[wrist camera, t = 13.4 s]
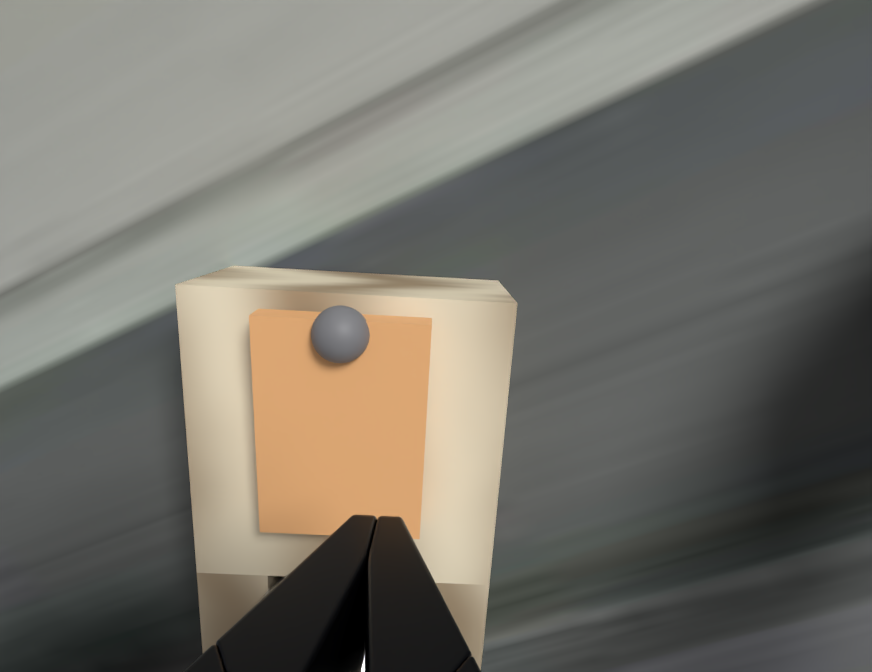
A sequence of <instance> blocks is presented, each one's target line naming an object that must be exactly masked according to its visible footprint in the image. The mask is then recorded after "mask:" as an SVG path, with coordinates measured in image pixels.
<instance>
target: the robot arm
mask: <svg viewBox="0 0 872 672" xmlns="http://www.w3.org/2000/svg"><path fill="white" fill-rule="evenodd" d="M364 655H365V670H364V672H481V670H480V668H479V666H478V665H477V663H476V661H475V659H474V657H472V654H471V651H470V649H469V647H468V646H467V644H466V642H465V640H464V638H463V636H462V634H461V632H460V630H459V628H458V626H457V624H456V622H455V620H454V618H453V616H452V614H451V612H450V610H449V608H448V606H447V605H446V603H445V601H444V599H443V597H442V595H441V593H440V591H439V589H438V587H437V585H436V583H435V581H434V579H433V577H432V575H431V573H430V571H429V569H428V567H427V565H426V563H425V562H424V560H423V558H422V556H421V554H420V552H419V550H418V548H417V546H416V544H415V542H414V540H413V538H412V536H411V534H410V532H409V530H408V528H407V526H406V524H405V522H404V521H403V519H402V518H401V517H399V516H380V517H378V519H377V518H376V517H375V516H374V515H356V514H355V515H352V516H351V517H350V518H349V519H348V520H347V521H345V522H344V523H343V524H342V525H341V526H340V527H339V528H338V529H337V530H336V531H335V532H334V533H333V534H331V535H330V536H329V537H328V538H327V539H326V540H325V541H324V542H323V543H322V544H321V545H320V546H319V547H317V548H316V549H315V550H314V551H313V552H312V553H311V554H310V555H309V556H308V557H307V558H306V559H305V560H303V561H302V562H301V563H300V564H299V565H298V566H297V567H296V568H295V569H294V570H293V571H292V572H291V573H289V574H288V575H287V576H286V577H285V578H284V579H283V580H282V581H281V582H280V583H279V584H278V585H277V586H275V587H274V588H273V589H272V590H271V591H270V592H269V593H268V594H267V595H266V596H265V597H264V598H263V599H261V600H260V601H259V602H258V603H257V604H256V605H255V606H254V607H253V608H252V609H251V610H250V611H249V612H247V613H246V614H245V615H244V616H243V617H242V618H241V619H240V620H239V621H238V622H237V623H236V624H235V625H233V626H232V627H231V628H230V629H229V630H228V631H227V632H226V633H225V634H224V635H223V636H222V637H221V638H219V639H218V640H217V642H216V645H212V646H211V647H209V648H208V649H207V650H206V651H205V652H204V653H203V654H202V655H201V656H200V657H199V658H198V659H196V660H195V661H194V662H193V663H192V664H191V665H190V666H189V667H188V668H187V669H185V670H184V671H183V672H361V670H362V666H363V661H364Z"/></svg>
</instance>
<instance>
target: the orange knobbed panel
mask: <svg viewBox="0 0 872 672" xmlns="http://www.w3.org/2000/svg"><path fill="white" fill-rule="evenodd" d="M249 329H250V349H251V369H252V389H253V409H254V429H255V449H256V468H257V488H258V508H259V528H260V532H266V533H288V534H311V535H331V534H333V533H334V532H335V531H336V530H337V529H338V528H339V527H340V526H341V525H342V524H343V523H344V522H345V521H347V520H348V519H349V518H350V517H351V516H352V515H355V514H356V515H374V516H375V517H376V518H377V519H378V517H380V516H399V517H401V518H402V519H403V521H404V522H405V524H406V526H407V528H408V530H409V532H410V534H411V536H412V538H413V539H420V523H421V505H422V488H423V471H424V453H425V436H426V418H427V401H428V384H429V366H430V349H431V331H432V318H424V317H406V316H387V315H369V314H361V313H360V312H358V311H357V310H355V309H354V308H351V307H348V306H343V305H338V306H332V307H329V308H327V309H325V310H324V311H322V312H313V311H295V310H276V309H257V310H256V311H254V312H253V313H252V314H250V315H249Z"/></svg>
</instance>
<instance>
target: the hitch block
mask: <svg viewBox="0 0 872 672" xmlns="http://www.w3.org/2000/svg"><path fill="white" fill-rule="evenodd" d="M175 288H176V302H177V315H178V328H179V342H180V355H181V369H182V382H183V396H184V409H185V422H186V436H187V449H188V463H189V476H190V489H191V503H192V516H193V530H194V543H195V557H196V570H197V583H198V597H199V610H200V624H201V637H202V651H203V653H204V652H205V651H206V650H207V649H208V648H209V647H211V646H212V645H216V642H217V640H218V639H219V638H221V637H222V636H223V635H224V634H225V633H226V632H227V631H228V630H229V629H230V628H231V627H232V626H233V625H235V624H236V623H237V622H238V621H239V620H240V619H241V618H242V617H243V616H244V615H245V614H246V613H247V612H249V611H250V610H251V609H252V608H253V607H254V606H255V605H256V604H257V603H258V602H259V601H260V600H261V599H262V597H263V596H264V595H265V593H266V592H267V591H268V590H269V589H270V588H271V587H272V586H273V585H274V584H275V583H276V582H278V581H279V580H280V579H282V578H283V577H285V576H286V575H288V574H289V573H291V572H292V571H293V570H294V569H295V568H296V567H297V566H298V565H299V564H300V563H301V562H302V561H303V560H305V559H306V558H307V557H308V556H309V555H310V554H311V553H312V552H313V551H314V550H315V549H316V548H317V547H319V546H320V545H321V544H322V543H323V542H324V541H325V540H326V539H327V538H328V537H329V536H330V535H311V534H288V533H266V532H260V528H259V508H258V488H257V468H256V449H255V429H254V409H253V389H252V369H251V349H250V329H249V315H250V314H252V313H253V312H254V311H256V310H257V309H276V310H295V311H313V312H322V311H324V310H325V309H327V308H329V307H332V306H338V305H343V306H348V307H351V308H354V309H355V310H357V311H358V312H360V313H361V314H369V315H387V316H406V317H424V318H432V331H431V349H430V366H429V384H428V401H427V418H426V436H425V453H424V471H423V488H422V505H421V523H420V539H413V540H414V542H415V544H416V546H417V548H418V550H419V552H420V554H421V556H422V558H423V560H424V562H425V563H426V565H427V567H428V569H429V571H430V573H431V575H432V577H433V579H434V581H435V583H436V585H437V587H438V589H439V591H440V593H441V595H442V597H443V599H444V601H445V603H446V605H447V606H448V608H449V610H450V612H451V614H452V616H453V618H454V620H455V622H456V624H457V626H458V628H459V630H460V632H461V634H462V636H463V638H464V640H465V642H466V644H467V646H468V647H469V649H470V651H471V654H472V657H474V659H475V661H476V663H477V665H478V666H479V668H480V670H481V662H482V652H483V642H484V632H485V622H486V612H487V602H488V592H489V582H490V572H491V562H492V552H493V542H494V532H495V522H496V512H497V502H498V492H499V482H500V472H501V462H502V452H503V442H504V432H505V422H506V412H507V402H508V392H509V382H510V372H511V362H512V352H513V342H514V332H515V322H516V312H517V302H516V301H515V300H514V299H513V298H512V296H511V295H510V294H509V293H508V292H507V291H506V289H505V288H504V287H503V286H502V285H501V284H500V282H499V281H496V280H478V279H461V278H443V277H425V276H407V275H389V274H372V273H354V272H336V271H318V270H300V269H282V268H265V267H247V266H232V267H228V268H225V269H222V270H219V271H216V272H213V273H210V274H207V275H203V276H200V277H197V278H194V279H191V280H188V281H185V282H181V283H178V284H175Z"/></svg>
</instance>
